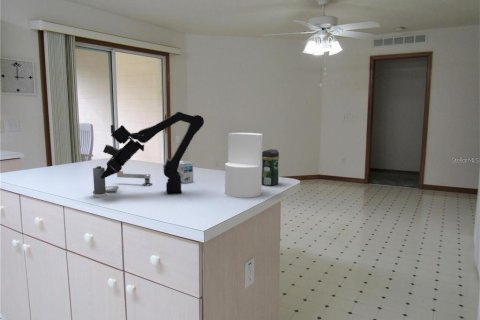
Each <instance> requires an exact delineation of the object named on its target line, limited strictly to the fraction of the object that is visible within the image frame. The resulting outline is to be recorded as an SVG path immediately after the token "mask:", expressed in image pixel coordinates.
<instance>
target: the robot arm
mask: <svg viewBox="0 0 480 320" xmlns="http://www.w3.org/2000/svg"><path fill="white" fill-rule="evenodd" d="M178 122H183V123H187V124H188V126H187V129H186V131H185V134H184V136H183V137H182V139H181V141H180V142H179V145H178V146H177V148H176V149H175V152H174V154H173V155H172V157H171V158H170V159H169V158H166V161H165V163H164V164H163V165H162V166H163V170H162V171H163V175H164V176H165V177H166V178H167V181H166V183H165V188H166V189H165V191H166V194H167V195H172V194H173V195H175V194H176V195H177V194H182V193H183V192H182V183H181V176H180V173H179V172H178V171H177V169H178V166H179V162H180V161H182V160H181V159H182V158H183V156H184V155H185V153H186V150H187V149H188V147H189V145H190V143H191V142H192V140H193V138H194V136H195V135H196V134H197V132H199V131H200V129H202V127H203V125H204V123H205V119H204V117H203V116H201V115H199V114H194V115H189V114H187V113H183V112H181V111H176V112H175V113H173V114H172V115H171V116H168V117H167V118H165V119H163V120H162V121H160V122H157V123H156V124H155V125H151V126H149V127H146V128H142V129H140V130H139V131H137V132H130V131H129V130H128V129H127V128H126V127H125V126H124V125H122V124H121V125H120V126H119V127H118V128H117V129H115V130H114V132H112V133H111V134H110V136H111V137H112V139H114V140H115V141H116V142H118V143H119V144H123V146H122V147H120V148H119V149H118V148H116V147H114V146H112V145H109V144H105V147H104V149H103V151H102V152H103V153H104V154H108V155H109V156H111V157H110V159H109V160H108V161H107V162H106V168H105V171H104V173H103V174H102V176H101V178H102V179H103V178H105V179H106V178H108V177H110V176H112V175H115V174H117V173H118V172H119V171H122V169H123V167H124V166H125V164H126V163H127V162H128V161H129V160H130V159H132V158H133V156H134V155H135V154H136V153H137V152H138V151H139V150H141V151H142V152H144V151H145V144H146V143H148V142H149V141H150V140H151V139H153V138H154V137H155V136H156V135H157V134H159V133H160V132H162V131H164V130H166V129H167V128H169V127H171V126H173V125H174V124H177V123H178ZM135 140H136V141H135ZM141 143H142V144H141Z"/></svg>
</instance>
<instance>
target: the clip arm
mask: <svg viewBox="0 0 480 320" xmlns="http://www.w3.org/2000/svg"><path fill="white" fill-rule="evenodd" d="M116 177H117V178H122V179H123V178H125V179H126V178H127V179H129V178H131V179H143V180H145V179H150V180H151V173H124V171H122V170H120V171H119V172H118V173H116Z"/></svg>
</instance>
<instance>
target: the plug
mask: <svg viewBox="0 0 480 320" xmlns="http://www.w3.org/2000/svg"><path fill="white" fill-rule="evenodd" d="M105 170H106V168H105V167H102V166H101V165H97V166H96V167H93V168H92V173H93V175H92V176H93V191H94V193H93V192H92V194H93V197H94V198H104V197H107V196H108V193H107V192H106V178H103V179H102V178H101V176H102V174H103V173H104V171H105Z"/></svg>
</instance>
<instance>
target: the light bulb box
mask: <svg viewBox="0 0 480 320" xmlns="http://www.w3.org/2000/svg"><path fill="white" fill-rule="evenodd" d="M177 171H178V172H179V173H180V176H181V184H188V183H193V182H194V162H192V161H191V162H190V161H185V160H180V162H179V166H178V169H177Z"/></svg>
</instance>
